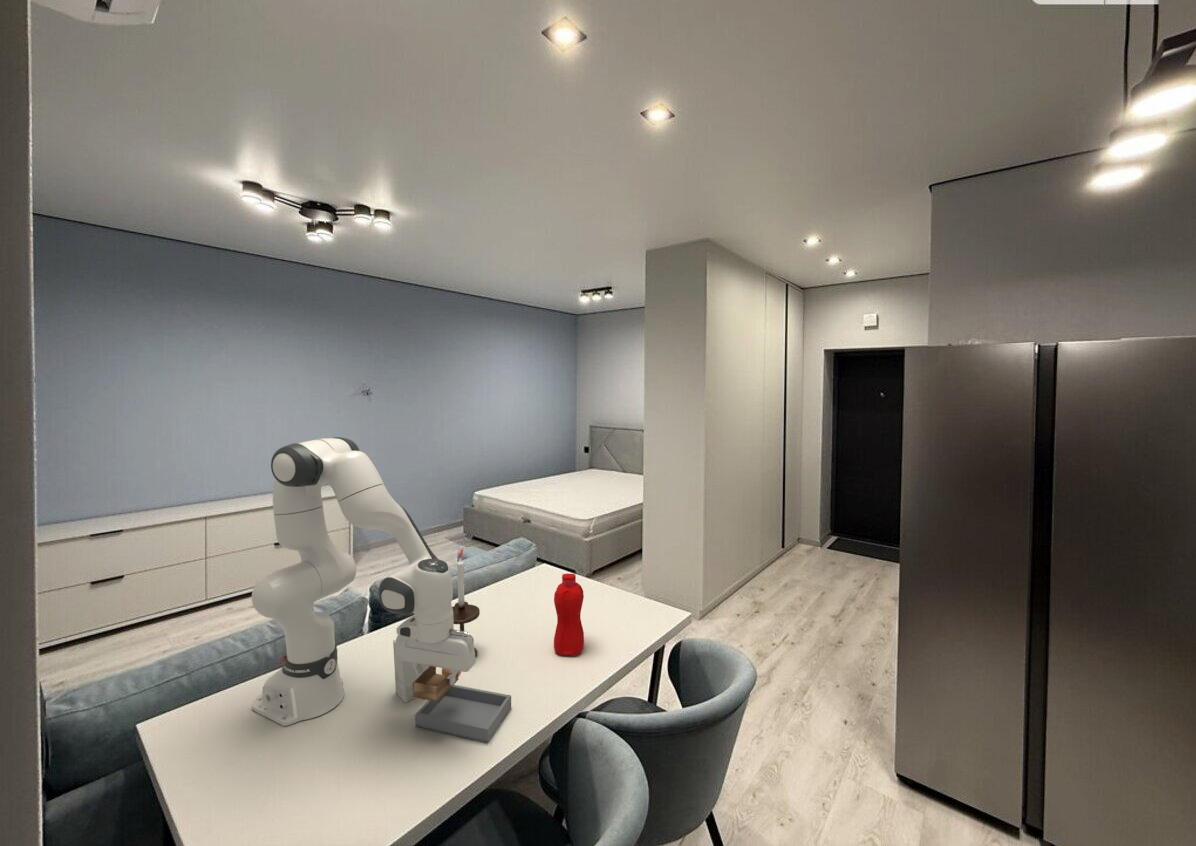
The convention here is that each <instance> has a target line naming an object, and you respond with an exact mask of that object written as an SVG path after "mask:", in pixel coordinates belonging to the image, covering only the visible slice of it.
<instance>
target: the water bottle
mask: <svg viewBox="0 0 1196 846" xmlns="http://www.w3.org/2000/svg"><path fill="white" fill-rule="evenodd" d="M576 577H577V576H576V574H575V573H562V575H561V579H562V580H561V583H560V584H558V585H557V587H556V590H555V591H554V596H553V602H554V603H553V604H554V608H555V612H556V616H557V617H556V619H557V622H556V623H557V624H556V628H555V631H554V637H553V649H554V652H555V654H557V655H558V656H572V657H576V656H577V655H580V654H581V653H582V652H583V649H584V645H585V644H584V643H585V636H584V633H585V632H584V629H583V624H582V620H581V612H582V609H583V602H584V597H585V596H584V590H583V589H584V588H583V587H582V585H581V584H580V583H578V582H576V581H577V579H576Z"/></svg>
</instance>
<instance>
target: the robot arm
mask: <svg viewBox="0 0 1196 846" xmlns="http://www.w3.org/2000/svg"><path fill="white" fill-rule="evenodd" d="M270 468H271V472H272V473H271V474H272V475H273V477H274V479H273V483H272V484H273V486H272V511H273V519H274V525H275V526H274V527H275V535H276V540H277V543H278V544H279V545H280V546H281V547H283V548H285V549H287V550H292V551H296V552H297V553H298V554H299V556H300V559H301V560H300V562H298V563H295V564H292V565H290V566H287V567H283V568H280V569H278V570H276V571H274V572H272V573H270V574H268V575H266V576H264V577H262V578H261V579H259V580H258V581H256V583H255V585H253V589H252V593H251V603H252V607H253V608H254V609H255V611H256V612H257V613H258V614H259V615H261V616H263V617H265V618H269V619H272V620H274V621H275V622H277V623H278V624H279V626H280V628H282V630H283V634H284V639H285V640H284V641H285V646H286V654H285V655H283V656H282V657H280V658H279V659H278V661H279V662H278V663H279V664H280V663H283V664H282V667H281V668H279V669H278V670H277V671H276V672H274V673H273V674H272V675H271V676H270V677H268V678H267V680H265V682H264V684H263V687H262V693H261V695H259V696H258V697H257V698H256V699H255V700H254V701H253V702H252V705H251V710H252V711H253V710H254V712H255V713H257V714H259V715H261V716H263V717H265V718H267V719H269V720H271V721H272V722H275V723H277V724H279V725H280V726H283V727H287V726H290V725H293V724H295V723H297V722H301V721H305V720H310V719H314V718H316V717H319V716H322V715H324V714H326V713H328V712H329V711H331V710H333V709H334V708H336V707H337V706H338V705H339V704H340V703H341V702H342V701H343V699H344V697H345V691H344V688H343V684H344V682H343V681H344V680H343V678H342V677H341V673H340V669H339V663H338V662H339V661H338V658H339V657H338V647H337V644H336V643H335V642H336V641H335V640H336V639H335V621H334V620H333V618H332V617H331V616H330V615H329V614H327V613H326V612H323V611H315V609H314V604H315V603H316V602H317V601H319V600H320V601H321V600H322V599H324V598H326V597H329V596H332V595H333V594H336V593H338V592H340V591H341V590H343V589H345V588H346V587H347V586H349V585H350V584H351V583H353V582H354V580H355V579H356V576H357V563H356V561H355V559H354V558H353V556H351V554H349V553H348V552H346V551H344V550H341V549H340V548H339V547H338V546H336V545H335V544H334V542H333V541H332V539H331V538H330V535H329V533H328V530H327V528H328V527H327V525H326V518H325V512H324V504H323V503H324V502H323V498H322V488H323V485H324V484H327V485H329V486H330V487H331V489H332V491H333V493H334V495H335V499H336V500H337V503H338V506H339V507H340V510H341V512H342V515H343V516H344V518H345V519H346V521H348V523H349V524H351V525H352V526H354V527H356V528H359V529H362V530H363V529H364V530H376V531H381V532H382V531H383V532H386V533H387V534H389V535H391V536H392V537H393V538H394V539H395V541H396V542H397V545H399V547H400V549H401V550H402V552H403V554H404V555H405V557H406V559H407V561H408V565H407V566H405V567H403V568H400V569H398V570H397V571H395V572H393V573H391V574H389V575H388V576H386V577H385V578H383V579H382V580H381V581H380V584H379V586H378V593H377V594H378V598H379V602H380V605H381V607H383V609H384V610H385V611H387V612H388V613H391V614H393V615H395V614H397V615H409V614H413V615H412V616H410V617H408V618H407V619H406V620H404V621H403V622H402V623H401V624H399V625H398V626H397V627H396V634H397V637H395V640H396V646H395V651H396V657H397V658H398V660H400V661H406V662H411V663H412V667H413V668H414V670H415V672H416V673H417V678H418V677H419V676H420V675H421V674H422V673H423V672H424V671H425V669H423V667H422V665H421V664H423V665H428V666H434V667H436V668H441V669H442V668H445V669H450V673H452V674H450V675H449V676H448V677H447V678H446V681H447V682H446V684H448V685H453V684H454V683H455V681H456V677H455V675H456V674H457V672H458V671H461V673H462V672H463V673H468V672H469V670H471V669H472V667H473V666H474V665H475V664H476V659H475V650H474V648H475V643H474V642H475V639H474V636H472V635H471V634H470V633H469V631H466V630H464V631H460V629H454V628H455V627H454V625H455V624H454V623H453V608H452V607H453V606H452V602H453V599H454V598H453V597H454V592H453V591H454V590H453V589H454V588H453V587H454V586H453V578H452V577H453V576H452V573H451V572H452V571H451V569H450V566H449V564H448V563H447V562H446V561H444V560H443V559H439V558H438V557H437V555H435V553H433V551H432V549H431V548H430V547H429V545H428V543H427V542H426V540H425V539H424V537H423V535H422V534H421V532H420V530H419V528H418V527H417V525H416V523H415V522H414V520H413V519H412V516H411V515H410V514H409V513H408V511H407V510H406V508H404V507H403V506H402V505H401V504H399V503H397V502H396V500H395V499H393V497H392V496H391V495H390V492H389V490H388V489H387V487H386V485H385V483H384V481H383V479H382V477H381V475H380V473H379V471H378V470H377V468H376V466H375V465H374V463H373V461H372V460H371V459H370V457H369V456H368V454H366V453H365V452H364V451H363V452H362V451H360V448H359V446H358V445H357V444H356V442H354V441H353V440H352V439H349V438H346V437H342V436H341V437H339V436H337V437H336V436H335V437H330V438H329V437H327V438H326V437H322V438H315V439H314V438H313V439H312V440H308V441H303V442H302V441H301V442H298V443H297V442H296V443H295V442H294V443H289V444H287V445H284V446H282V447H280V448H278V449H277V450H276V451H275V452H274V454H273V455H272V458H271V462H270ZM455 684H456V683H455ZM455 684H454V685H455Z"/></svg>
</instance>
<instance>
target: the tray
mask: <svg viewBox="0 0 1196 846" xmlns="http://www.w3.org/2000/svg"><path fill="white" fill-rule="evenodd" d="M511 709H512V695H511V694H506V693H500V692H496V691H489V690H484V689H477V688H472V687H470V686H469V687H468V686H463V685H457V684H454V685H453V686H452V687H451V688H450V690H449V691H448V692H447V693H446V694H445V695H444V696H443V697H442V698H441V700H440V701H439V702H434V701H429V700H426V702H425V703H424V704H423V705H422V706H421V707H420V708H419V710H417V712H416V713H414V718H415V719H414V721H415V722H414V724H415V725H414V726H415V728H418V729H422V730H426V731H431V732H435V733H439V734H444V735H449V736H453V737H459V738H462V739H463V738H464V739H467V740H471V741H477V742H481V743H486V744H489V742H490V741H491V739H492V738H493V736H494V735H495V733H496V731H497V730H498V729H499V727H500V725H502V723H503V722H504V720H505V718H506V717H507V716H508V714H509V712H510V711H511Z"/></svg>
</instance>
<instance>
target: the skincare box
mask: <svg viewBox="0 0 1196 846" xmlns="http://www.w3.org/2000/svg"><path fill="white" fill-rule="evenodd" d="M392 643H393V644H392V646H393V662H394V683H395V684H394V685H395V693H396V694H397V696H399V697H400V699H401V700H402V701H403V703H407V702H409V701H411V700H414V699H415V698H414V697H413V684H412V683H413V682H414V681H415V680H416V679H417V673H416V672H415V670H414V668H413V667H412V663H411V662H406V661H400V660H398V658H397V657H396V651H395V646H396V639H393V641H392ZM421 665H422V667H423V669H425V670H426V669H428V668H429V667H430V666H428V665H423V664H421Z"/></svg>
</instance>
